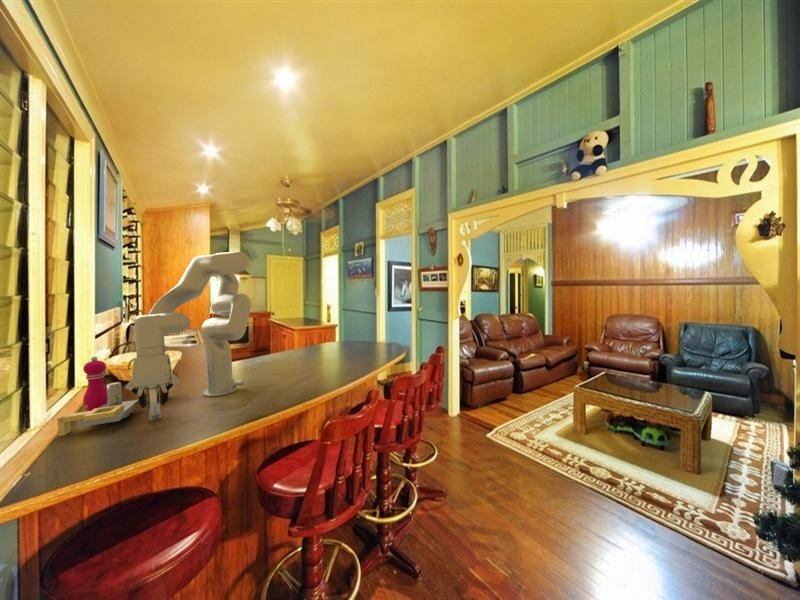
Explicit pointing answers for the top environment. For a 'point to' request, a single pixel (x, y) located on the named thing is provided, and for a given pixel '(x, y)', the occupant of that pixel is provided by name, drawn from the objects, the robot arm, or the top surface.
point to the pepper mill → (95, 384)
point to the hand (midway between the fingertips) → (154, 404)
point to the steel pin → (154, 402)
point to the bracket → (86, 417)
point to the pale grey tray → (113, 400)
